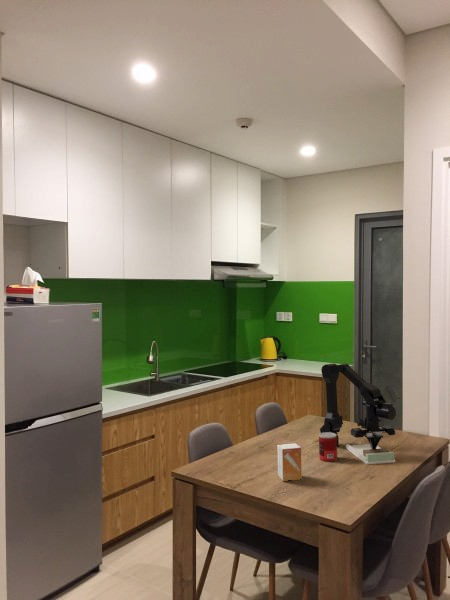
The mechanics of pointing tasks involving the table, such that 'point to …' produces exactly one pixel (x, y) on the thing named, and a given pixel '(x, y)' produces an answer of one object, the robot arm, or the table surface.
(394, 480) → the table surface
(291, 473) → the small box
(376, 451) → the block
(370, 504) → the table surface
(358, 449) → the track
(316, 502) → the table surface
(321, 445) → the canned food
